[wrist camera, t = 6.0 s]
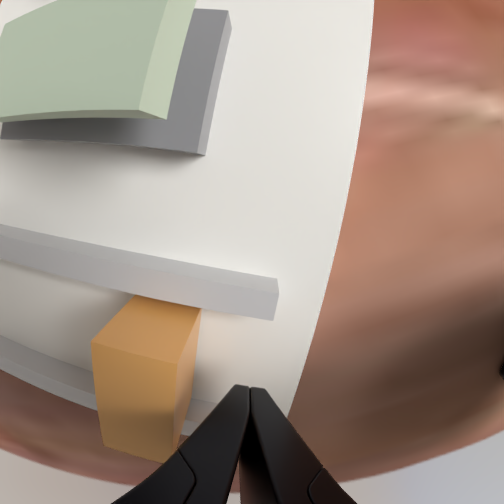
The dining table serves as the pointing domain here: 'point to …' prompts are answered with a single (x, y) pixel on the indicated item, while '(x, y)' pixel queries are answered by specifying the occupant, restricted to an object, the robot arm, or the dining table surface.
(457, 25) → the dining table surface
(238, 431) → the robot arm
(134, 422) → the orange rectangular block
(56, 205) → the panel
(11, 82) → the rocker
